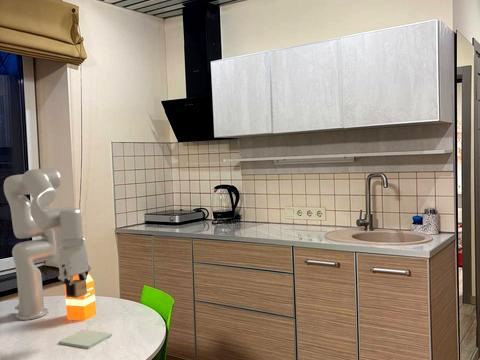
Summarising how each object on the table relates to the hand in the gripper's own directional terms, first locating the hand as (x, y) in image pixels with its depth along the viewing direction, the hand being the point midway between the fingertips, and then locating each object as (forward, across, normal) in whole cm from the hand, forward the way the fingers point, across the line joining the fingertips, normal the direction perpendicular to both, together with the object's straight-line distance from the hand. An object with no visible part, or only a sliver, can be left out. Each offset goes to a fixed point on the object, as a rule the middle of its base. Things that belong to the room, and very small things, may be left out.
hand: (76, 292), depth 176 cm
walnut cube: (+1, 0, 0) cm, 1 cm away
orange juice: (+17, -19, -18) cm, 31 cm away
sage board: (+17, 0, +2) cm, 17 cm away
